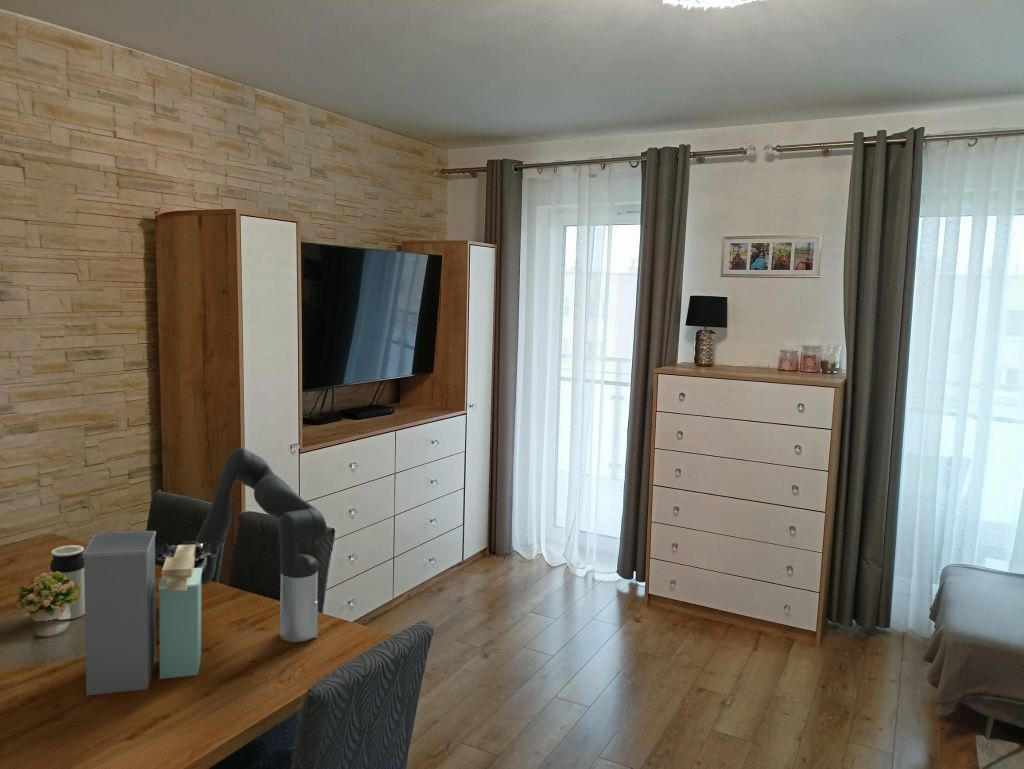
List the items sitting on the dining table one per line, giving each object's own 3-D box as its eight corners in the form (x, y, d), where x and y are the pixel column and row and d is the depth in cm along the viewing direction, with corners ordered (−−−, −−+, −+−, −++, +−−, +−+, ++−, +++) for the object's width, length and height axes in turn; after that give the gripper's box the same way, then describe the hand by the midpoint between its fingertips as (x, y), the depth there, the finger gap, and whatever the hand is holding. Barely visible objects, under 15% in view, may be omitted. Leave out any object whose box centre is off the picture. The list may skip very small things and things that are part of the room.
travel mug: (85, 618, 197) (83, 553, 195) (49, 623, 194) (48, 556, 192) (87, 606, 204) (86, 543, 202) (53, 610, 201) (51, 546, 199)
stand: (156, 660, 178) (155, 530, 174) (148, 689, 166) (147, 550, 162) (98, 665, 174) (96, 533, 170) (85, 696, 162) (82, 553, 158)
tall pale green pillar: (202, 654, 182) (202, 567, 180) (198, 675, 172) (198, 584, 170) (164, 657, 180) (164, 569, 177) (158, 679, 170) (158, 586, 167)
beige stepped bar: (199, 555, 187) (199, 536, 186) (191, 590, 166) (191, 568, 166) (173, 557, 185) (173, 537, 185) (161, 592, 164) (161, 570, 164)
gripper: (161, 545, 195) (154, 532, 181) (220, 542, 199) (217, 530, 185) (160, 574, 192) (152, 564, 178) (219, 571, 197) (216, 560, 183)
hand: (185, 546), depth 182 cm, fingers open, 8 cm apart
